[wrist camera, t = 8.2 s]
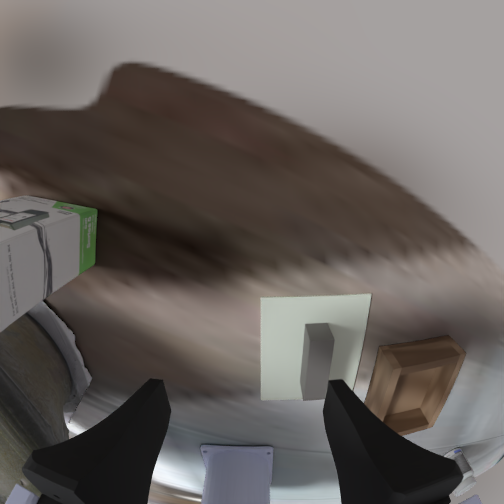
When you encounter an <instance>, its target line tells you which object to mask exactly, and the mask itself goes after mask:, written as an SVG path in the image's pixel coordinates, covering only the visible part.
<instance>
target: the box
mask: <svg viewBox="0 0 504 504" xmlns="http://www.w3.org/2000/svg"><path fill="white" fill-rule="evenodd" d="M465 355H466V352H465V351H464V350H463V349H462V348H461V347H460V346H459V345H458V344H457V343H456V342H455V341H454V340H453V339H452V338H451V337H450V336H449V335H447V336H441V337H436V338H431V339H425V340H419V341H413V342H407V343H400V344H393V345H386V346H379V349H378V354H377V358H376V362H375V366H374V370H373V374H372V378H371V381H370V385H369V389H368V392H367V396H366V399H365V402H364V404H365V405H366V406H367V407H368V408H369V409H370V410H371V411H372V412H373V413H374V414H375V415H376V416H377V417H378V418H379V419H380V420H381V421H382V422H384V423H385V424H386V425H387V426H388V427H390V428H391V429H392V430H394V431H395V432H396V433H398V434H399V435H401V436H403V435H407V434H410V433H414V432H417V431H421V430H424V429H427V428H431V427H433V425H434V423H435V421H436V420H437V418H438V416H439V414H440V412H441V410H442V408H443V406H444V404H445V402H446V400H447V398H448V396H449V394H450V391H451V389H452V387H453V385H454V383H455V380H456V378H457V376H458V373H459V371H460V368H461V366H462V363H463V361H464V358H465Z"/></svg>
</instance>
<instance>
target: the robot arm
mask: <svg viewBox="0 0 504 504" xmlns="http://www.w3.org/2000/svg"><path fill="white" fill-rule="evenodd" d="M170 414H171V408H170V405H169V401H168V398H167V394H166V391H165V387H164V383H163V380H159V379H149V380H148V381H147V382H146V383H145V384H144V385H143V386H142V387H141V388H140V389H139V390H138V391H137V392H135V393H134V394H133V395H132V396H131V397H130V398H129V399H128V400H127V401H126V402H125V403H124V404H122V405H121V406H120V407H119V408H118V409H117V410H115V411H114V412H113V413H112V414H111V415H109V416H108V417H107V418H105V419H104V420H103V421H101V422H100V423H98V424H97V425H95V426H94V427H92V428H90V429H89V430H87V431H85V432H83V433H81V434H79V435H77V436H75V437H73V438H71V439H69V440H66V441H64V442H61V443H58V444H56V445H53V446H49V447H45V448H42V449H38V450H33V452H32V453H31V455H30V456H29V458H28V459H27V461H26V463H25V464H24V466H23V467H22V472H23V474H24V476H25V477H26V478H27V479H28V480H29V481H30V482H31V483H32V484H33V485H34V486H35V487H36V488H37V489H38V490H39V491H40V492H41V493H42V494H41V496H40V497H38V496H37V495H36V494H34V493H33V492H31V491H29V490H27V489H26V488H24V487H22V486H21V485H19V484H16V485H15V487H14V489H13V490H12V492H11V494H10V496H9V497H8V499H7V501H6V503H5V504H147V503H148V496H149V490H150V484H151V479H152V474H153V470H154V467H155V464H156V461H157V458H158V455H159V452H160V449H161V447H162V444H163V441H164V438H165V435H166V432H167V429H168V424H169V419H170ZM323 416H324V423H325V430H326V434H327V437H328V441H329V444H330V448H331V451H332V455H333V458H334V462H335V465H336V469H337V473H338V479H339V486H340V494H341V503H342V504H449V503H450V502H451V500H450V498H449V494H451V493H452V492H453V491H454V490H455V489H456V488H457V487H458V485H459V484H460V483H461V482H462V480H463V477H464V476H463V474H462V472H461V470H460V467H459V466H458V464H457V463H456V461H455V460H453V459H450V458H447V457H444V456H441V455H438V454H435V453H433V452H430V451H428V450H426V449H424V448H422V447H420V446H418V445H416V444H414V443H412V442H411V441H409V440H407V439H405V438H404V437H402V436H401V435H399V434H398V433H396V432H395V431H394V430H392V429H391V428H390V427H388V426H387V425H386V424H385V423H384V422H382V421H381V420H380V419H379V418H378V417H377V416H376V415H375V414H374V413H373V412H372V411H371V410H370V409H369V408H368V407H367V406H366V405H365V404H364V403H363V402H362V401H361V400H360V399H359V398H358V397H357V396H356V394H355V393H354V392H353V391H352V390H351V389H350V387H349V386H348V385H347V384H346V383H345V381H344V380H343V379H336V380H328V386H327V392H326V397H325V403H324V408H323ZM200 450H201V453H202V457H203V460H204V464H205V467H206V475H205V481H204V488H203V494H202V501H201V504H270V484H271V483H272V467H273V447H270V446H262V447H243V446H216V445H201V447H200ZM459 504H482V503H481V500H480V498H479V496H478V495H474V496H472V497H471V498H468V499H466V500H465V501H463V502H461V503H459Z"/></svg>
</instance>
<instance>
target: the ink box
mask: <svg viewBox="0 0 504 504" xmlns="http://www.w3.org/2000/svg"><path fill="white" fill-rule="evenodd" d="M96 227H97V209H94V208H89V207H83V206H79V205H74V204H68V203H64V202H59V201H54V200H49V199H43V198H38V197H33V196H21V197H16V198H11V199H6V200H1V201H0V332H2V331H3V330H4V329H5V328H7V327H8V326H9V325H10V324H12V323H13V322H14V321H16V320H17V319H18V318H20V317H21V316H22V315H23V314H25V313H26V312H27V311H29V310H30V309H31V308H33V307H34V306H36V305H37V304H38V303H40V302H41V301H42V300H44V299H45V298H46V297H48V296H49V295H51V294H52V293H54V292H55V291H56V290H58V289H59V288H61V287H62V286H64V285H65V284H67V283H68V282H69V281H71V280H72V279H74V278H75V277H77V276H78V275H80V274H81V273H83V272H84V271H86V270H87V269H89V268H90V267H92V266H93V265H94V264H95V249H96Z"/></svg>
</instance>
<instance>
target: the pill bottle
mask: <svg viewBox="0 0 504 504" xmlns="http://www.w3.org/2000/svg"><path fill="white" fill-rule="evenodd" d="M444 457H447V458H450V459H453V460H455V461H456V463H457V464H458V466H459V467H460V470H461V472H462V474H463V476H464V477H463V480H462V482H461V483H460V484H459V485H458V487H457V488H456V489H455V490H454V491H453V493H454V494H455V496H456V497H457V496H460V495H461V494H463V493H465V492H467V491H468V490H469V489H471V488H472V487H473V486H474V485H475V484H476V479H475V478H474V476H473V474H474V471H473V469H472V467H471V466H470V464H469V462H468V460H467V458H466V457H465V455H464V453H463V451H462V450H461V449H460V448H456V449H453V450H451V451H450V452H448V453H447V454H445V455H444ZM472 476H473V477H472Z"/></svg>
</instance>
